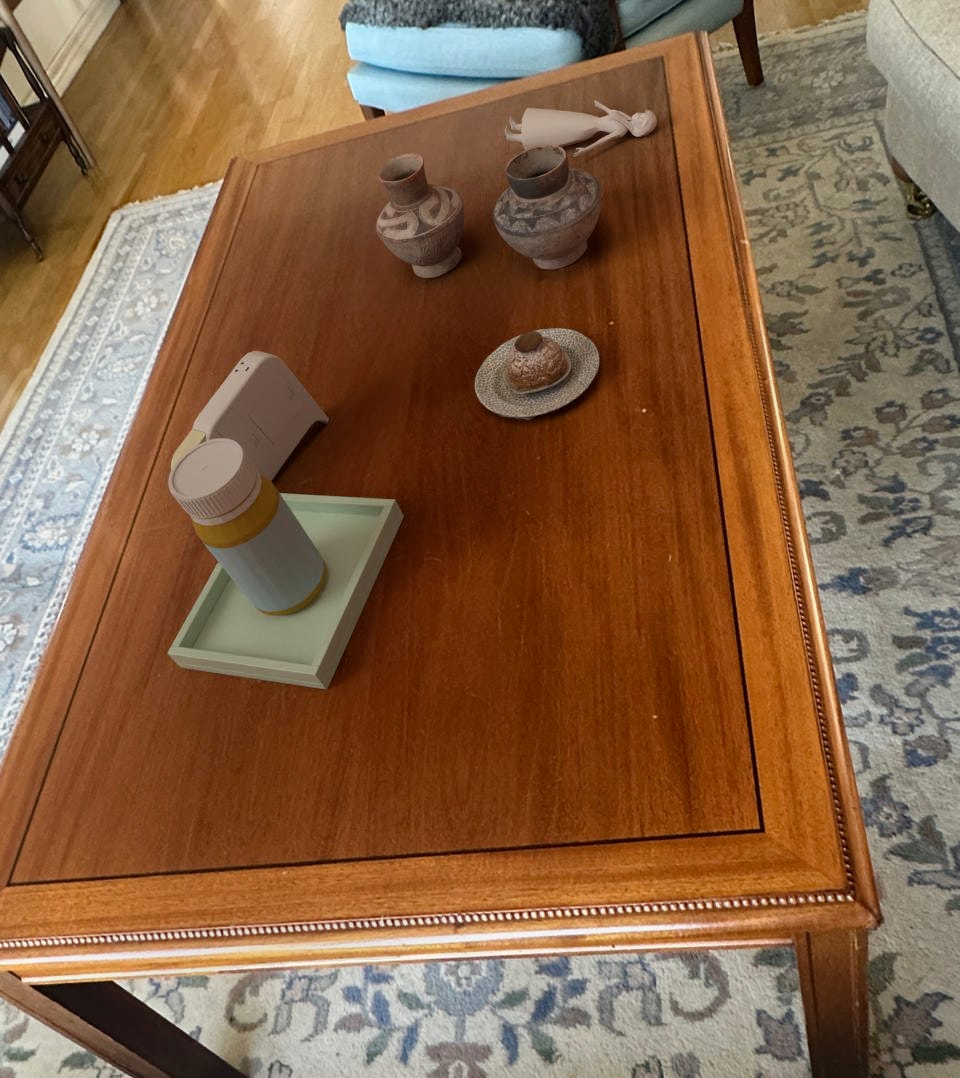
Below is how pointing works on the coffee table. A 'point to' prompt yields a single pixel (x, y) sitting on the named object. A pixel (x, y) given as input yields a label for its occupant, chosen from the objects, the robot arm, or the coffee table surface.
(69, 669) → the coffee table surface
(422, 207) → the pottery
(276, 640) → the tray
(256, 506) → the bottle
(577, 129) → the woman figurine
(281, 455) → the light grey boxy piece
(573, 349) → the pastry
